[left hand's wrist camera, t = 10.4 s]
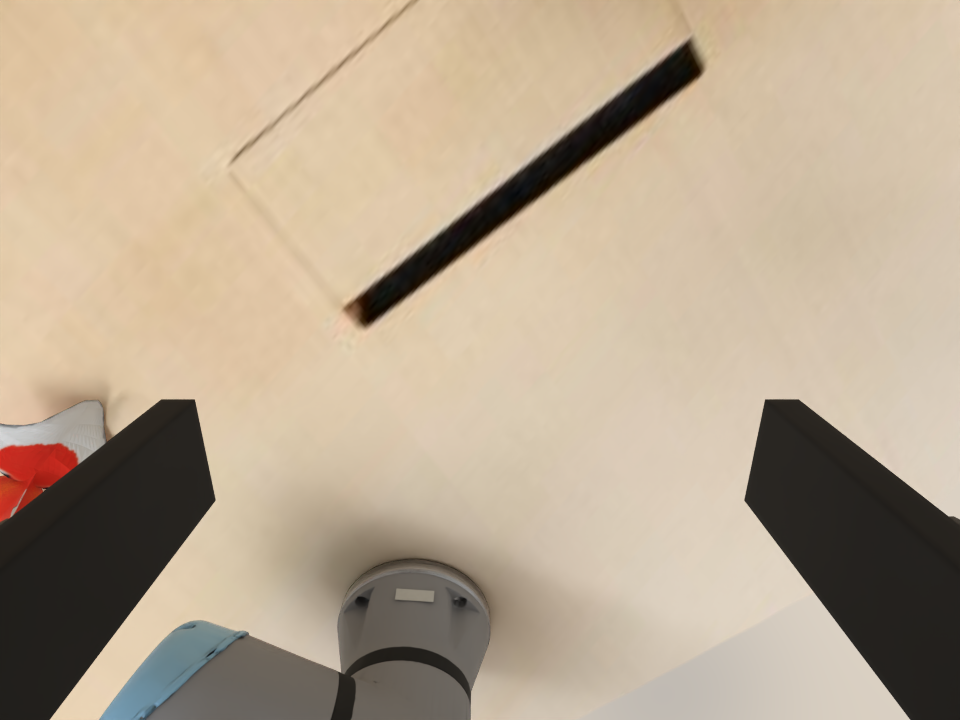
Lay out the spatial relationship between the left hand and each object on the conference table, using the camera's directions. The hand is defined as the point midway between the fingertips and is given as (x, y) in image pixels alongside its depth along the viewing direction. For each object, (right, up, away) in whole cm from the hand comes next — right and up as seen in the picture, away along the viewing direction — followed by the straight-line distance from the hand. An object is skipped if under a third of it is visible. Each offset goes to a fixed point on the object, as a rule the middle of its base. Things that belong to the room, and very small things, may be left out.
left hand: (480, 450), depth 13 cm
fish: (-38, -6, +36) cm, 53 cm away
